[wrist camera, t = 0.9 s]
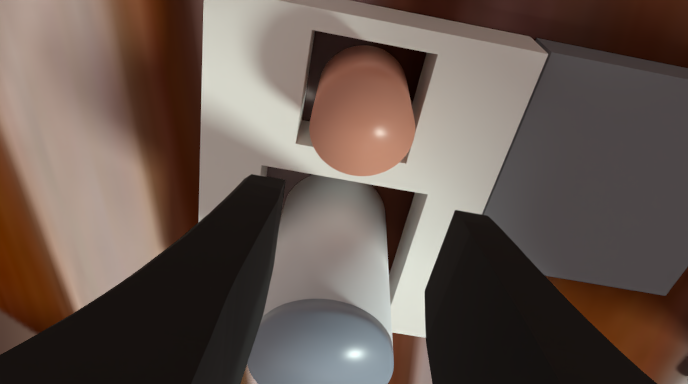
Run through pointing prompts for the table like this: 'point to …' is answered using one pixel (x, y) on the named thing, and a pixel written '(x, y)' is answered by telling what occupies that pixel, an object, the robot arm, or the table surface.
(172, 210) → the table surface
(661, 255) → the pad
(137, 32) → the table surface
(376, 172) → the peach rounded piece
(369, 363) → the cylinder
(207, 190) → the white plate with holes
